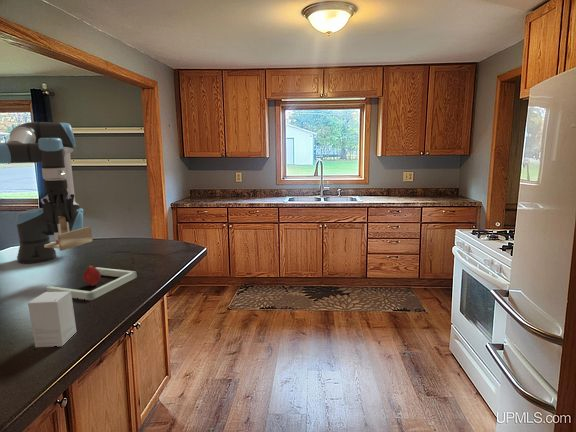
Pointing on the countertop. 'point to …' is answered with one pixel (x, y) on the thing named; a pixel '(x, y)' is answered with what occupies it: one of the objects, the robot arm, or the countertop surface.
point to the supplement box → (52, 319)
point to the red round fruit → (91, 276)
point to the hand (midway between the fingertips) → (62, 238)
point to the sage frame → (90, 295)
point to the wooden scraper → (70, 236)
